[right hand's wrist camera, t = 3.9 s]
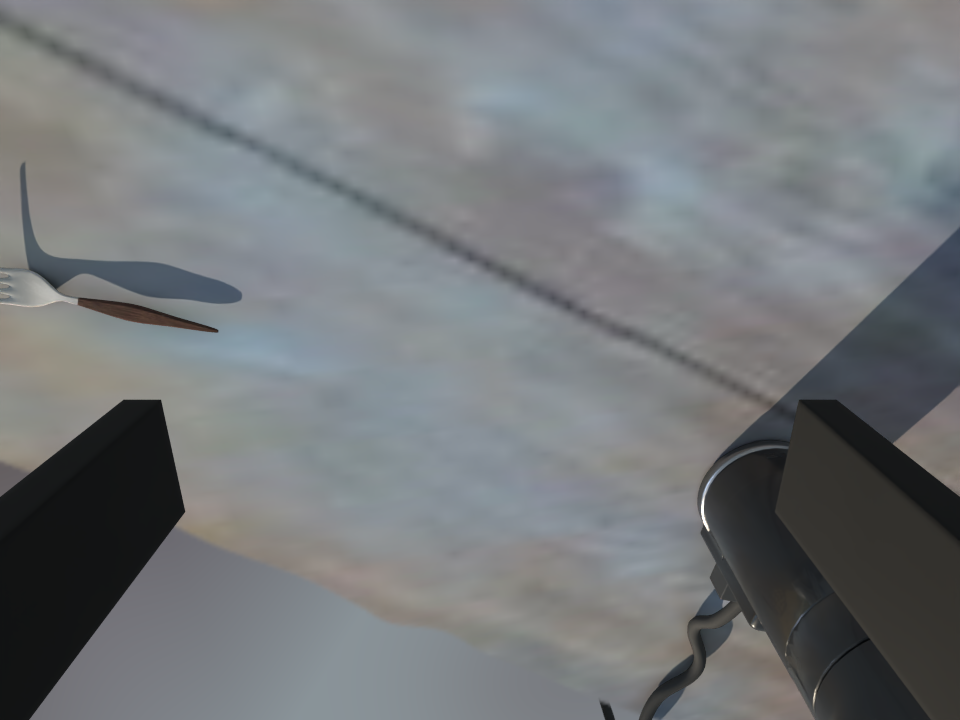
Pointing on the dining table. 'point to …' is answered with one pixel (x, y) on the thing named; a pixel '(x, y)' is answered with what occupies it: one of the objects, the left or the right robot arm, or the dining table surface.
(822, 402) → the right robot arm
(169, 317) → the fork
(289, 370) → the dining table surface
